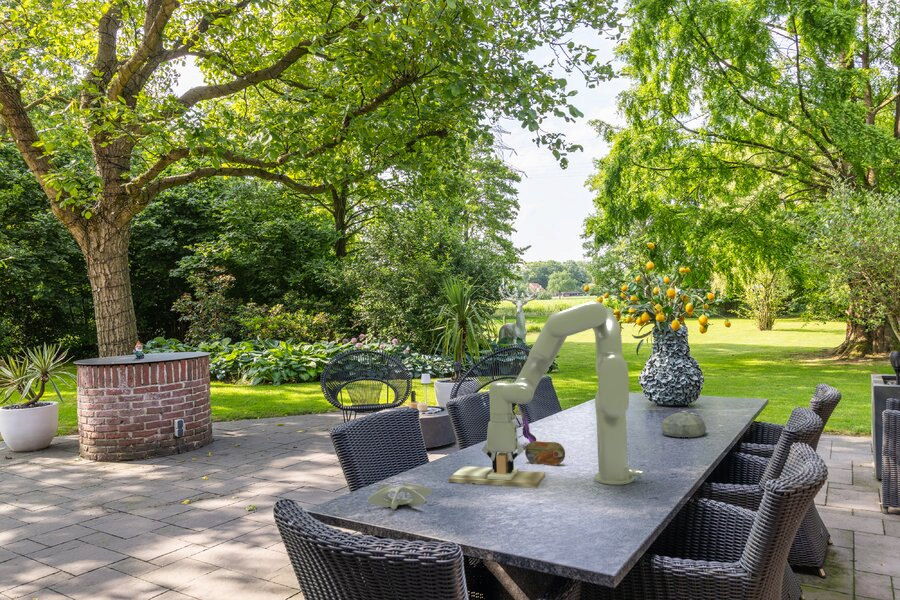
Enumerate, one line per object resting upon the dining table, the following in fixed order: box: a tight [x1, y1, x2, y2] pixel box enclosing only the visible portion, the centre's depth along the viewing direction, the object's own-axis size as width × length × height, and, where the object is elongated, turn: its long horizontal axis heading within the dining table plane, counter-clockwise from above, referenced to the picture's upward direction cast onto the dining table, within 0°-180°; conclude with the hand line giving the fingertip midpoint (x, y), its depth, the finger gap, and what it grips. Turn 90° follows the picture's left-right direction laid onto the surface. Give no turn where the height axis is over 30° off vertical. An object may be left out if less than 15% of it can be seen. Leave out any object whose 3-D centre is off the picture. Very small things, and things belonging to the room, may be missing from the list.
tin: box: [524, 440, 566, 466], centre depth 232 cm, size 15×3×8 cm, turn 62°
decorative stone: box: [660, 410, 707, 439], centre depth 276 cm, size 18×21×10 cm
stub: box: [487, 452, 519, 480], centre depth 212 cm, size 8×12×7 cm, turn 161°
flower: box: [517, 410, 537, 443], centre depth 263 cm, size 15×15×14 cm
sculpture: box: [367, 481, 433, 510], centre depth 187 cm, size 18×20×6 cm
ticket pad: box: [448, 465, 546, 489], centre depth 212 cm, size 30×14×3 cm, turn 71°
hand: (503, 471), depth 212 cm, fingers closed on stub, 4 cm apart
